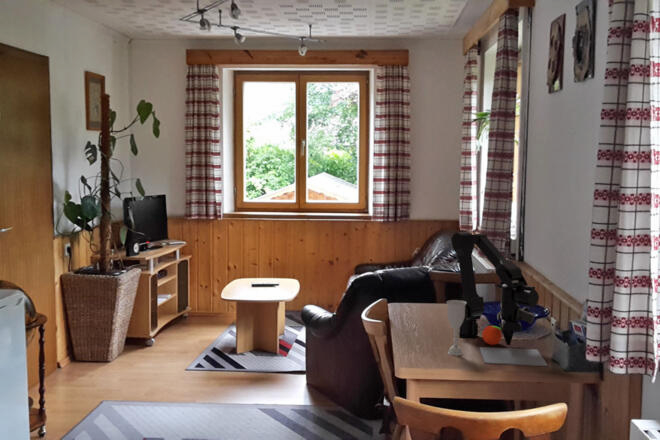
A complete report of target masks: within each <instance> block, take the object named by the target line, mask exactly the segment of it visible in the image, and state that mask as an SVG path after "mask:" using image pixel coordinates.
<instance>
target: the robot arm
mask: <svg viewBox="0 0 660 440" xmlns="http://www.w3.org/2000/svg"><path fill="white" fill-rule="evenodd" d="M450 242H451V245H452V246H451V247H452V249H453V251H454V252H455V254H456V256H458V257H457V258H458V264H459V271H460V279H461V286H462V297H461V299H460V300H461V301H465V302H467V303H466V305H465V318H464V320H463V323H462V325H461V327H460V328H459V329H458V331H457V334H458V336H459V338H478V335H479V323H478V322H477V320H481V318H482V315H483V313H484V312H485V308H486V306H485V303H484V296H480V295H479V294H478V292H477V287H476V278H475V270H474V264H473V263H474V262H473V258H472V257H473V256H472V254H473V252H474V249H475V245H476V247H477V248H478V249H479V251H480V252H482V254H483V255H484V256H485V257H486V259H487V260H488V261H489V262H490V263H491V264H492V266H493V267H494V269H495V271H494V272H495V274H496V276H497V278H498V279H499V281H500V282H499V283H497V285H496V288H499V289H501V295H500V296H501V299H500V303H499V304H500V311H499V312H497V314H496V318H497V321H500V320H501V322H499V323H498V324H499V328H500V329H501V330H502V331H501V330H500V331H501V333H502V337H503V338H504V341H505V343H506V345H507V346H511V343H512V339H513V336H514V333H515V332H522V327H523V325H522V324H521V322H520V320H521V321H524V322H526V323H528V324H530V325H531V324H532V323H533V321H534V319H535V318H536V317H535V316H536V315H535V314H534V313H533V312H531V311H530V308H528V307H535V306H537V304H538V303H539V299H540V296H539V292H538V291H537V290H536V287H535V286H534V285H532V286H531V285H528V283H527V280H526V279H525V277H524V275H523V272H522V269H521V268H520V267H519V266H518V265H517V264H516V263H514V262H513V261H511V260H509V259H507V258H506V257H505V256H504V255H503V254H502V253H501V252H500V250H499V249H498V248H497V247H496V246H495V245H494V244H493V242H492V241H491V240H490V239H489V238H488V235H487V234H486V233H482V232H481V233H474V234H472V233H471V232H470V231H465V232H464V231H463V232H461V231H460V232H455V233H454V234H452V236H451V240H450ZM520 305H523V306H524V307H523V308H520ZM526 306H527V307H526Z"/></svg>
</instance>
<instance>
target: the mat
mask: <svg viewBox="0 0 660 440" xmlns="http://www.w3.org/2000/svg"><path fill="white" fill-rule="evenodd" d="M479 351H480V354H481V357H482V360H483V362H484V364H492V365H508V366H509V365H510V366H513V365H515V366H530V367H531V366H532V367H535V366H536V367H548V366H549V365H548V364H547V362H546V360H545V359H544V357H543V356H542V354H541V353H540V352H539V350H538V349H531V348H529V349H528V348H512V347H511V348H510V347H507V348H506V347H486V346H484V347H483V346H479Z"/></svg>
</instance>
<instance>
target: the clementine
mask: <svg viewBox="0 0 660 440" xmlns="http://www.w3.org/2000/svg"><path fill="white" fill-rule="evenodd" d="M502 338H503V333H502V330H501V327H500V326H496V325H488V326H486V327H485V328H483V331H482V340H483V341H484V342H485V343H486V344H488V345H491V346H495V345H497V344H499V343H500V342H501V341H502Z"/></svg>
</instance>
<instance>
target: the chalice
mask: <svg viewBox="0 0 660 440" xmlns="http://www.w3.org/2000/svg"><path fill="white" fill-rule="evenodd" d="M466 303H467V302H465V301H461V299H460V300H459V299H450V300H447V301H446V304H447V318H448V322H449V324H450V327H451V328H452V329H453V330H454V332H453V336H454V337H453V339H452V340H453V345H451V346H450V348H449V350H448V352H447V354H448V355H449V356H456V357H458V356H462V355H463V352H462V348H461V347H460V346H459V345H458V341H459V339H458V336H459V333H458V330H459V328H460V327H461V325H462V323H463V320H464V318H465V305H466Z"/></svg>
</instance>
